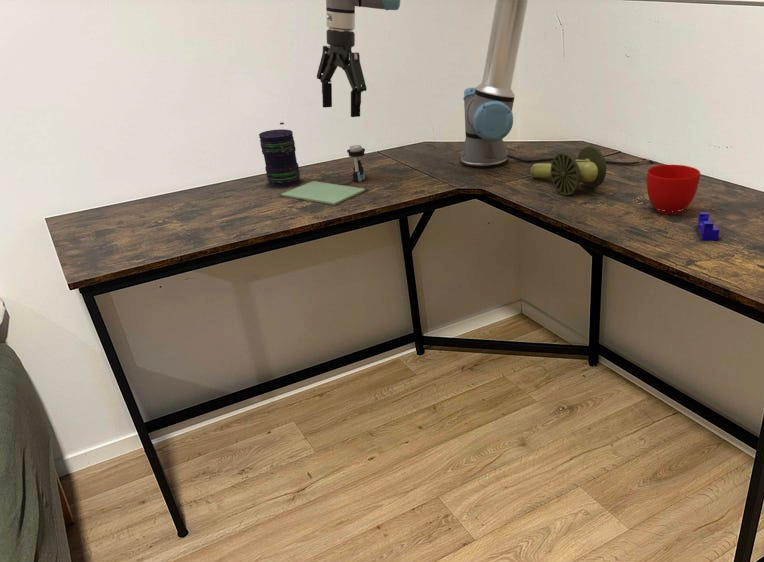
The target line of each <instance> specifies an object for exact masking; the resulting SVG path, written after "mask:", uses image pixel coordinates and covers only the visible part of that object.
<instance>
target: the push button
mask: <svg viewBox="0 0 764 562" xmlns="http://www.w3.org/2000/svg"><path fill="white" fill-rule="evenodd" d="M346 152H347V154H348V157H350V158H352V159H353V168H352V169H353V172H352V180H353V182H354V183H356V182H357V183H358V182H362V181H363V180H365V179H366V176H365V169H364V166H363V164H362V161H361V160H362V159H361V158H363V156H365V152H366V148H364V147H362V145H361V144H360V145H359V144H353V145H350V146H349V149H347V150H346Z"/></svg>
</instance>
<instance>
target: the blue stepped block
mask: <svg viewBox="0 0 764 562" xmlns="http://www.w3.org/2000/svg"><path fill="white" fill-rule="evenodd" d="M697 218H698V219H697V227H696V229H697V231H698V234H699V236H700V238H701V240H702V241H719V236H720V228H719V227H718V226H714V225H715V224H714V221H710V220H709V219H710V213H709V212H708V211H699V212H698V217H697ZM698 224H699V225H698ZM700 230H701V231H700Z"/></svg>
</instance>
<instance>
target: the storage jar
mask: <svg viewBox="0 0 764 562" xmlns="http://www.w3.org/2000/svg"><path fill="white" fill-rule="evenodd" d="M279 125H285V122H279ZM258 137H259V142H260V148H261V153H262V155H263V158H264V164H265V168H264V169H265V172H266V173H265V175H266V178H267V181H268V186H269V187H270V188H273V189H287V188H293V187H297V186H299V185H300V184H301V183H302V180H301V171H300V165H299V163H298V161H297V156H296V155H297V154H296V151H297V150H296V143H295V139H294V133H293V130H291V129H280V128H279V129H269V130H265V131H262V132H260V133H259V134H258Z"/></svg>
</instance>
